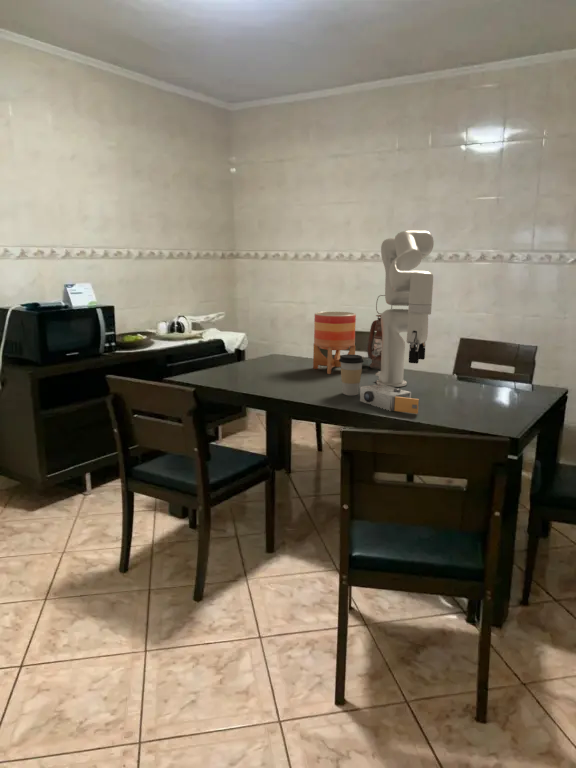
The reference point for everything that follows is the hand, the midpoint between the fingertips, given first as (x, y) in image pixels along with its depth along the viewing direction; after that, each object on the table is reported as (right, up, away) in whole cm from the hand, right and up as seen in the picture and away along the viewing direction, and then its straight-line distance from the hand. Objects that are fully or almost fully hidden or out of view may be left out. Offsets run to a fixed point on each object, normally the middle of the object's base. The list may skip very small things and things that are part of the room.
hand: (416, 360), depth 192 cm
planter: (-22, -1, +75) cm, 78 cm away
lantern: (+2, 0, +82) cm, 82 cm away
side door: (-4, -18, +2) cm, 18 cm away
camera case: (-9, -15, +14) cm, 22 cm away
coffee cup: (-20, -12, +29) cm, 37 cm away
